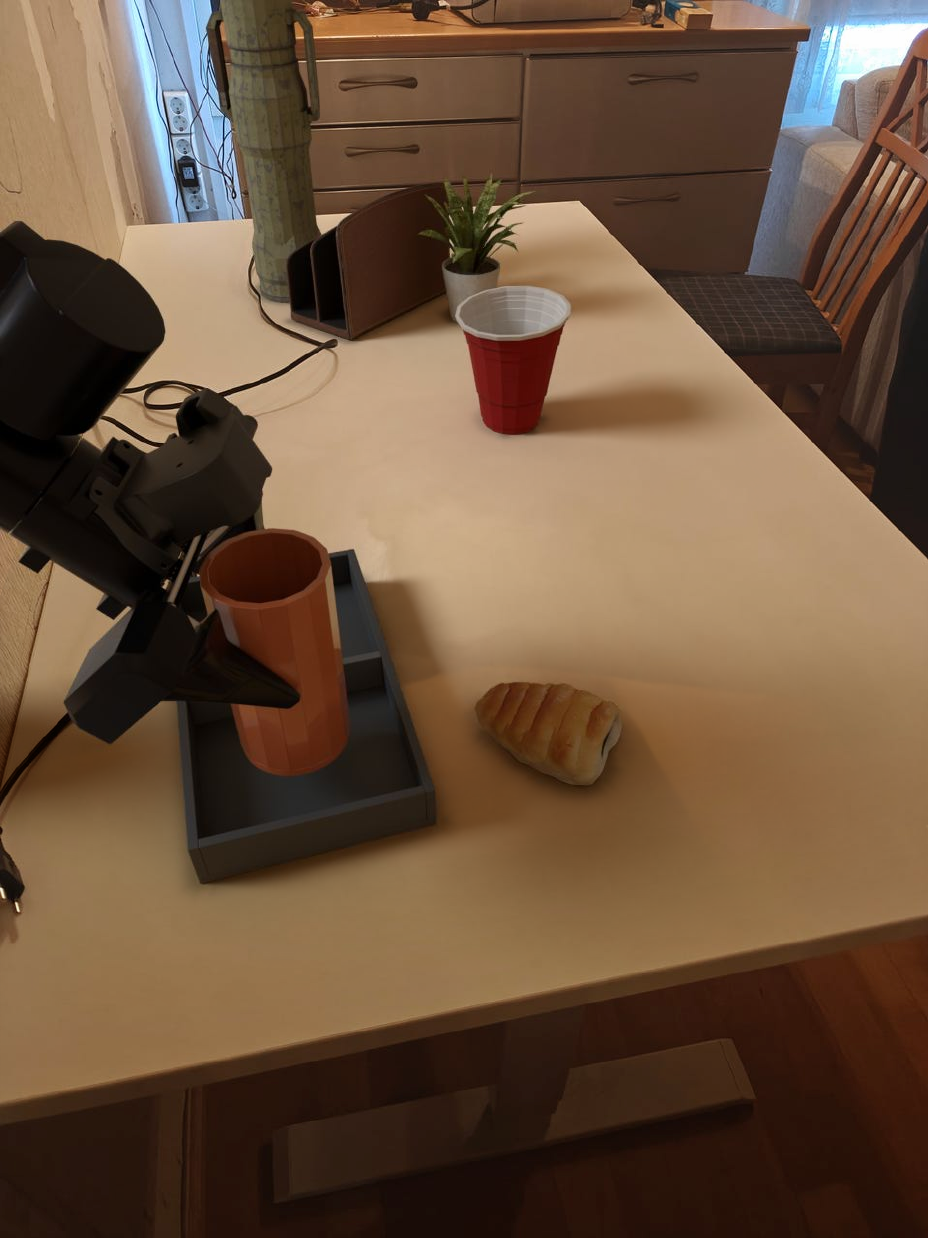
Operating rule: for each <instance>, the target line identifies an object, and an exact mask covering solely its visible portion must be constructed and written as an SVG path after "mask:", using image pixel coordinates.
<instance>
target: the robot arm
mask: <svg viewBox="0 0 928 1238" xmlns="http://www.w3.org/2000/svg"><path fill="white" fill-rule="evenodd" d="M165 336H166V326H165V321H164V318H163V315H162V313H161V310H160V308H159V306H158V305H157V304H156V302H155V300H154V299H153V298H152V296H151V294H150V293H149V292H148V290H146V289H145V287H144V285H142V284H141V283H140V281H139V280H138V279H137V278H136V277H134V276H133V275H132V274H131V272H129V270H127V269H126V268H124V267H123V266H122V265H121V264H119V263H118V262H117V261H115V260H114V259H112V258H111V257H108V258H106V259H105V258H104V257H102V256H101V255H99V254H97V253H95V252H93V251H92V250H89V249H87V248H85V247H82V246H80V245H79V244H76V243H71V242H69V241H65V240H61V239H51V238H50V239H49V238H48V239H45V238H44V237H42V235H40V233H38V232H36V231H35V230H34V229H33V228H31V227H30V226H29V225H28V224H27V223H25V222H24V221H22V220H14V221H13V222H11V223H10V224H8V225H7V226H6V227H5V228H4V229H2V231H0V530H1V531H3V532H4V533H6V534H9V536H11V537H13V538H14V539H15V540H17V541H18V542H20V543H22V544H24V545H25V546H27V548H26V549H25V551H24V552H23V554H22V555H21V557H20V559H19V560H18V561H17V563H19V564H21V565H23V566H24V567H25V568H27V569H29V570H31V572H33V573H35V574H39V573H40V572H41V571H42V570H43V569H44V567H46V565H47V564H48V563H49V562H53V563H54V564H56V565H57V566H59V567H60V568H62V569H64V570H66V571H67V572H68V573H70V574H72V575H73V576H75V577H77V578H79V579H80V580H81V581H84V582H85V583H87V584H88V585H90V586H91V587H93V588H94V589H96V590H98V591H99V592H101V593H102V596H101V599H100V601H99V602H98V604H97V606H96V608H95V610H97V611H98V612H99V613H102V614H103V615H104V616H106V617H108V618H110V619H111V620H113V621H114V620H116V619H117V617H119V616H120V615H121V614H122V613H123V611H125V610H126V609H127V608H128V607H129V608H130V609H129V610H127V612H126V613H125V614H124V615H123V616H122V617H121V618H120V619H119V620H118V621H116V623H115V624H114V625H113V626H112V627H110V629H109V630H108V631H107V632H105V634H103V635H102V637H100V639H98V641H96V642H95V643H94V644H93V645H92V646H91V647H90V648H89V649H88V651H87V653H86V656H85V657H84V659H83V661H82V664H81V665H80V668H79V669H78V671H77V673H76V676H75V677H74V679H73V681H72V683H71V686H70V687H69V690H68V691H67V694H66V695H65V698H64V699H63V705H64V707H65V710H66V712H67V714H68V716H69V719H70V720H71V722H72V723H73V724H74V725H75V726H76V727H77V728H78V729H79V730H82V731H83V732H84V733H87V734H89V735H91V736H93V737H94V738H96V739H98V740H100V741H102V742H104V743H106V744H108V745H109V746H111V745H113V743H114V742H116V741H117V740H119V738H121V736H123V735H124V734H125V733H126V732H127V731H129V730H130V729H131V728H132V727H133V726H135V725H136V723H138V722H139V721H140V720H141V719H143V718H144V717H145V716H146V715H147V714H148V713H150V712H151V711H152V710H154V709H155V708H156V707H157V706H158V704H160V703H161V702H177V701H207V702H219V703H221V702H222V703H231V704H241V705H251V706H262V707H272V708H282V709H289V708H292V707H293V706H294V705H296V704H297V703H298V702H299V701H300V698H301V695H300V693H299V692H298V691H297V690H295V689H294V688H293V687H292V686H291V685H290V684H288V683H287V682H286V681H285V680H284V679H283V678H281V677H280V676H278V675H277V674H276V673H274V672H273V671H271V670H270V669H268V668H267V667H266V666H264V665H263V664H261V663H260V662H258V661H257V660H256V659H254V658H253V657H251V656H250V655H248V654H247V653H246V652H244V651H243V650H241V649H240V648H238V647H237V646H236V645H234V644H233V643H231V642H230V641H229V640H228V639H227V637H226V634H225V631H224V627H223V624H222V621H221V617H220V614H219V611H218V610H217V609H215V610H213V611H212V612H211V613H210V614H209V615H208V616H207V617H206V618H205V619H203V620H202V621H201V622H200V623H199V622H198V621H196V620H195V619H193V618H192V617H190V616H189V615H187V614H186V613H184V612H182V611H181V610H179V609H178V606H179V604H180V602H181V599H182V597H183V594H184V592H185V589H186V587H187V584H188V582H189V579H190V578H192V575H193V574H196V575H198V576H200V574H199V570H200V567H201V565H202V563H203V562H204V560H205V558H206V556H207V554H208V553H209V552H211V551H212V550H213V549H215V548H216V547H217V546H218V545H220V544H221V543H222V542H224V541H225V540H227V539H230V538H232V537H235V536H237V535H240V534H242V533H245V532H249V531H255V530H262V529H266V527H265V524H264V514H263V513H264V512H263V497H264V490H263V489H264V486H265V483H266V481H267V479H268V478H270V477H272V473H273V466H272V465H271V462H269V460H268V459H267V458H266V456H265V455H264V453H263V452H262V450H261V449H260V448H259V446H258V444H256V441H254V437H255V436H256V433H257V430H258V427H259V423H258V421H257V419H256V418H255V417H254V416H252V415H249V414H243V412H242V411H241V409H239V407H238V405H235V404H234V403H232V402H231V401H229V400H227V399H226V398H224V397H223V396H222V395H220V394H218V393H216V392H215V391H213V390H212V389H210V388H209V387H204V388H203V389H200V390H199V391H195V392H194V393H192V394H190V395H188V396H186V397H185V398H183V401H182V403H181V404H180V407H178V410H177V411H176V413H175V422H176V427H177V432H178V434H177V433H176V432H172V433H171V434H169V435H168V436H167V438H166V440H165V442H164V443H163V444H162V445H161V446H159V447H157V448H155V449H153V450H151V451H148V452H146V451H144V450H141V449H140V448H138V447H137V446H136V445H134V444H133V443H131V442H130V441H128V440H126V439H118V438H116V437H115V436H112V437H111V438H110V440H108V442H106V444H105V445H104V446H103V448H102V449H100V448H99V447H98V446H96V445H95V444H93V443H92V442H90V441H89V440H87V439H86V438H85V437H82V435H83V434H86V433H87V432H89V431H90V430H92V429H93V428H94V427H95V426H96V425H97V424H98V423H99V421H100V420H101V419H102V418H103V416H104V415H105V414H106V412H108V411H109V409H110V408H111V407H112V405H114V403H115V402H116V400H118V398H119V397H120V396H121V395H122V394H123V392H124V390H125V389H126V388H127V387H128V386H129V385H130V384H131V382H132V381H133V380H134V378H136V376H137V375H138V373H140V371H141V370H142V369H143V368H144V367H145V365H146V364H147V363H148V362H149V360H150V359H151V358H152V357H153V355H154V354H155V353H156V352H157V350H158V349H159V348H160V347H161V346H162V344H164V341H165V338H166V337H165ZM166 581H167V584H166ZM165 585H166V587H165ZM164 587H165V588H164Z"/></svg>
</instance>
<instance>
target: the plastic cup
mask: <svg viewBox="0 0 928 1238" xmlns="http://www.w3.org/2000/svg"><path fill="white" fill-rule="evenodd" d="M571 306H572V305H571V303H570V301H569V300H568V299H567V298H566V297H565V296H564V295H563V294H561V293H559V292H556V291H554V290H551V289H549V288H546V287H539V286H532V285H504V286H501V287H497V288H494V289H489V290H485V291H482V292H480V293H477V294H475V295H473V296H470V297H468V298H467V299H466V300H465V301H463V302H462V303H461V304H460V305H459V306H458V307H457V311H456V315H455V317H456V320H457V321H458V322H457V324H459V326H460V328H461V330H462V332H463V335H464V337H465V341H466V344H467V347H468V353H469V358H470V364H471V370H472V374H473V378H474V385H475V389H476V393H477V398H478V405H479V411H480V416H481V419H482V421H483V424H484V425H485V427H486V428H487V429H489V430H491V431H492V432H495V433H499V434H503V435H518V434H524V433H527V432H529V431H533V430H534V429H535V428H536V427H537V426H538V424H539V420H540V419H541V416H542V412H543V407H544V402H545V400H546V399H545V398H546V397H547V395H548V390H549V385H550V381H551V377H552V373H553V368H554V365H555V360H556V356H557V351H558V349H559V348H558V347H559V346H560V343H561V338H562V335H563V331H564V327H565V326H566V323H567V322H568V320H570V317H571Z"/></svg>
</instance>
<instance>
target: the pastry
mask: <svg viewBox="0 0 928 1238" xmlns="http://www.w3.org/2000/svg"><path fill="white" fill-rule="evenodd" d="M474 712H475V713H474V714H475V716H476V718H477V722H478V725H479V728H480V729H481V731H483V732H484V733H485V734H486V735H488V736H489V737H490V739H493V740H495V742H496V743H497V744H498V745H499V746H500V747H503V748H504V749H506V750H507V751H508V752H509V753H510V754H511V755H512V757H513V758H514V759H516V760H517V762H519V763H521V764H526V765H527V766H529V767H530V768H532V769H534V770H536V771H539V772H541V773H543V774H544V775H550V776H551V777H554V778H555V779H557V780H558V781H561V782H564V783H566V784H568V785H573V786H591V785H593V784H594V783H595V782H596V780H597V779H598V778H599V777H600V776H601V775H602V773H603V771H604V769H605V767H606V761H607V760H608V756H609V751H610V750H611V749H612V748H613V747H614V746H615V745H616V744H617V742H618V741H619V738H620V735H621V733H622V727H623V724H622V713H621V710H620V708H619V706H618V705H617V703H616V702H615V701H613V700H606V699H604V698H602V697H600V696H599V695H597V694H594V693H592V692H590V691H588V690H585V689H579V688H578V689H577V688H576V687H574V686H572V685H570V684H569V683H563V682H561V683H551V682H548V683H539V682H538V683H537V682H529V681H521V682H519V681H512V682H507V683H506V682H500V683H498V684H496V685H494V686H492V687H491V688H489V689H488V690H487V691H486V692H485V693H484V694H483V696H482V697H481V698H480V699H478V700H477V701H476V702H475V705H474Z"/></svg>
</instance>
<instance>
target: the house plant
mask: <svg viewBox="0 0 928 1238" xmlns="http://www.w3.org/2000/svg"><path fill="white" fill-rule="evenodd" d="M493 173H494V172H493V171H492V172H491V173H490V175H489V177H488V179H487V180H486V182H485V185H484V187H483V190H482V192H481V194H480V196H479V198H478V200H477V203H476V206H475V208H474V204H473V196H472V193H471V190H470V187H469V183H468V179H467V176H466V175H465V173H464V172H462V184H463V192H464V198H462V196H460V195H459V194H458V192H457V191H456V190H455V189H454V187H453V186H452V183H451V182H450V180H448V179H447V178H445V176H443V177H442V180H443V184H444V185H445V188H446V193H447V197H448V201H449V206H448V205H447V204H446V203H445V202H444V204H445V207H446V210H447V212H448V214H449V216H448V215H447V213H446V212H445V210H444V209H443V208H442V207H441V206H440V205H439V204H438V203H437V202H436V201H435V200H434V199H433V198H431V197H429V196H427V195H426V194H425V196H426V197H427V198H428V199H429V200H430V201H431V202H432V203H433V205H434V206H435V208H436V209H437V211H438V212H439V213H440V214H441V215H442V217H443V218H444V220H445V221H446V223H447V225H448V227H446V228H445V229H444V230H445V233H446V234H447V236H448V237H449V239H450V241H449V240H447V239H446V238H445V237H444V236H443V235H441V234H440V233H438V232H436V231H433V230H424V231H422V232H420V233H419V234H420V235H425V236H429V237H433V238H436V239H439V240H441V241H443V242H445V243H446V244H447V245H448V246H449V247H450V250H451V251H452V252H453V253H450V258H448V259H446V260H445V261H444V262H443V263H442V271H443V277H444V282H445V288H446V292H445V293H446V298H447V305H448V309H449V315H450V318H451V319H452V320H453V322H457V323H458V321H457V320H456V317H455V315H456V311H457V307H458V306H459V305H460V304H461V303H462V302H463V301H465V300H466V299H467V298H468V297H470V296H473V295H475V294H477V293H480V292H482V291H485V290H489V289H494V288H498V281H499V277H500V271H501V263H500V262H499V261H498V260H497V259H495V258H493V257H491V256H492V255H493V254H494V253H496V252H497V251H498V250H499V249H501V247H502V246H503V245H506V246H509V247H511V248H513V249H514V250H515V251H517V252H519V250H518V247H517V245H516V244H517V243H516V242H513V241H511V240H508V239H505V238H508V237H511V236H513V235H518V236H519V234H518V233H516V232H514V231H513V230H512V228H514V227H516V226H518V225H522V224H523V222H515V223H512V224H510V225H508V226H505V225H503V224H500V223H499V222H500V221H501V220H505V218H503V217H504V215H506V213H507V212H509V211H511V210H517V209H521V208H523V207H526V206H527V204H523V205H522V203H525V202H526V200H518V199H520V198H522V197H523V196H526V195H529V194H532V193H534V192H537V191H539V189H538V190H532V191H531V190H530V191H526V192H523V193H519V194H517V195H515V196H513V197H511V198H510V199H508V200H507V201H505V203H503V204H502V205H501V206H500V207H498V208H497V209H496V210H495V211H493V212H491V213H490V211H491V210H492V207H493V205H494V203H495V201H496V195H497V190H498V188H499V186H500V184H501V181H502V179H499V180H496V181H495V182H494V183H493ZM492 183H493V184H492ZM493 222H494V223H493ZM492 223H493V224H492ZM501 228H502V229H503V228H504V229H503V230H501V231H499V232H497V233H496V234H494V235H493V236H492V237H491V235H492V234H493V232H495V231H496V230H498V229H501ZM496 244H501V245H499V246H498V247H496V249H494V251H492V249H493V248H494V247H495V245H496ZM491 251H492V252H491ZM490 252H491V253H490ZM489 254H490V255H489Z"/></svg>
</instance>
